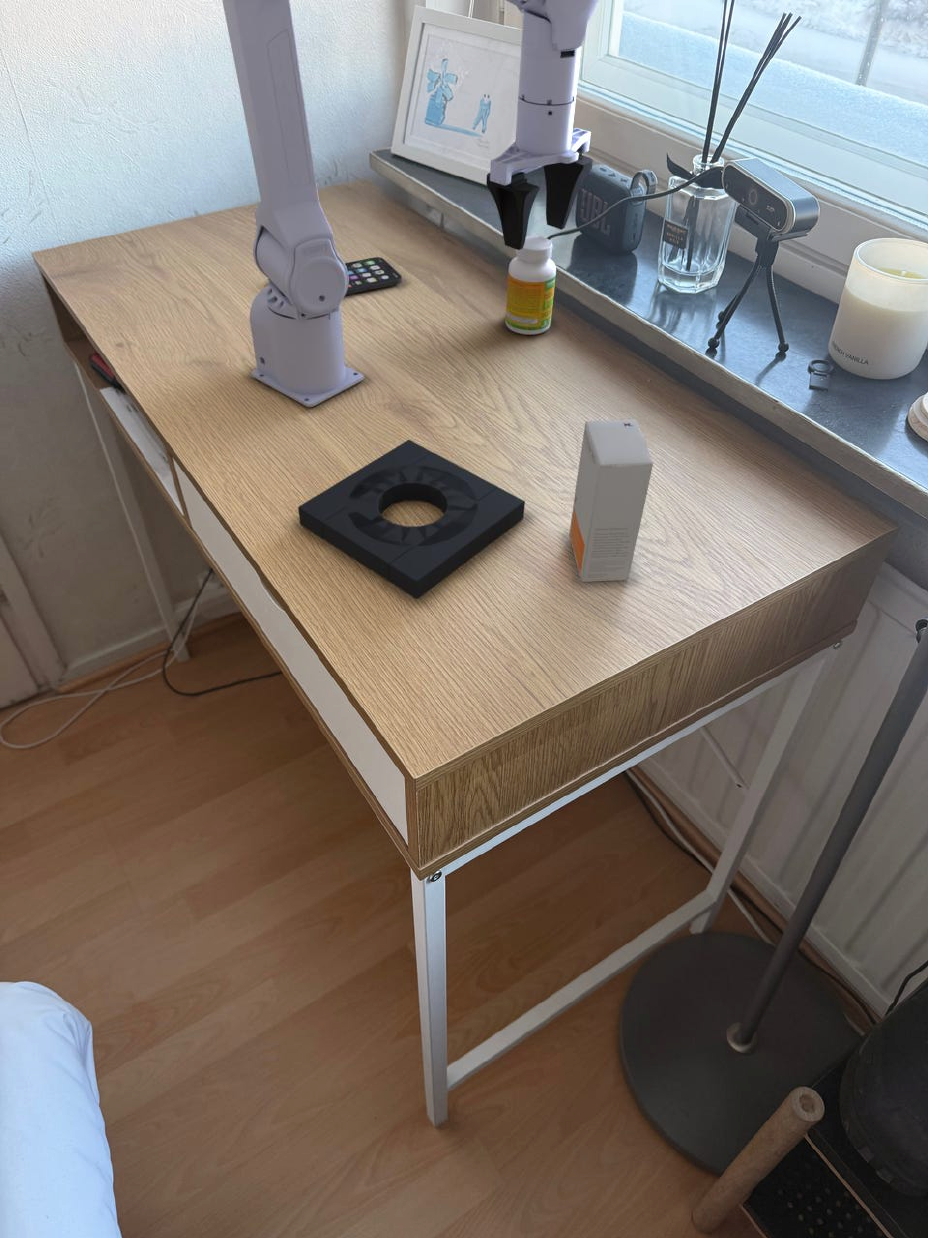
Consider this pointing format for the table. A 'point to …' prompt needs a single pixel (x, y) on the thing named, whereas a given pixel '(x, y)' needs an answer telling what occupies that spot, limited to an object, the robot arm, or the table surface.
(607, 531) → the cosmetic box
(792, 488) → the table surface
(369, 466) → the socket pad
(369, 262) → the smartphone
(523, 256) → the supplement bottle
